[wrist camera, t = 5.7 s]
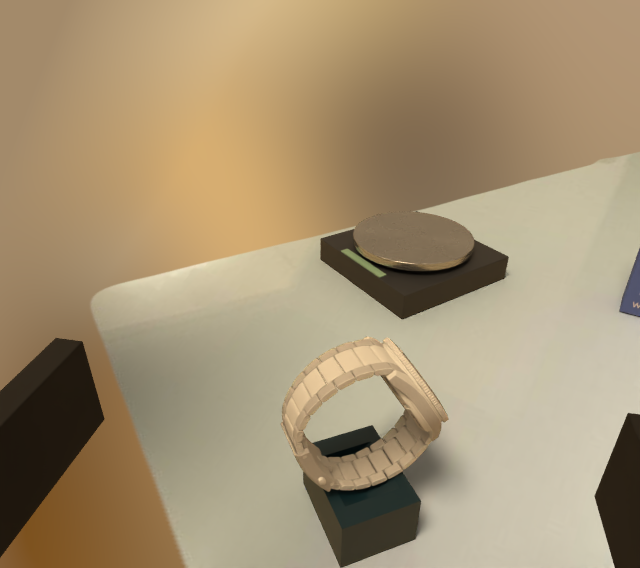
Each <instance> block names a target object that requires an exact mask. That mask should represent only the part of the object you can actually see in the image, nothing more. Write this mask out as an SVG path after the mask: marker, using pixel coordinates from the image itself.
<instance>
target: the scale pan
mask: <svg viewBox="0 0 640 568" xmlns="http://www.w3.org/2000/svg"><path fill="white" fill-rule="evenodd" d="M353 243H354V246H355V248H356V249H357V251H358V252H359V253H360V254H362V255H363V256H364V257H366V258H367V259H369V260H371V261H373V262H375V263H378V264H381V265H383V266H387V267H391V268H395V269H400V270H408V271H436V270H443V269H448V268H451V267H454V266H457V265H459V264H461V263H463V262H465V261H466V260H467V259H468V258H469V257H470V256H471V255H472V252H473V249H474V238H473V236H472V234H471V233H470V232H469V231H468V230H467V229H466V228H465V227H464V226H462V225H460V224H459V223H457V222H455V221H452V220H450V219H447V218H444V217H441V216H437V215H432V214H427V213H420V212H391V213H383V214H379V215H375V216H372V217H369V218H367V219H365V220H363V221H361V222H360V223H359V224H358V225H357V226H356V227H355V229H354V232H353Z"/></svg>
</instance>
